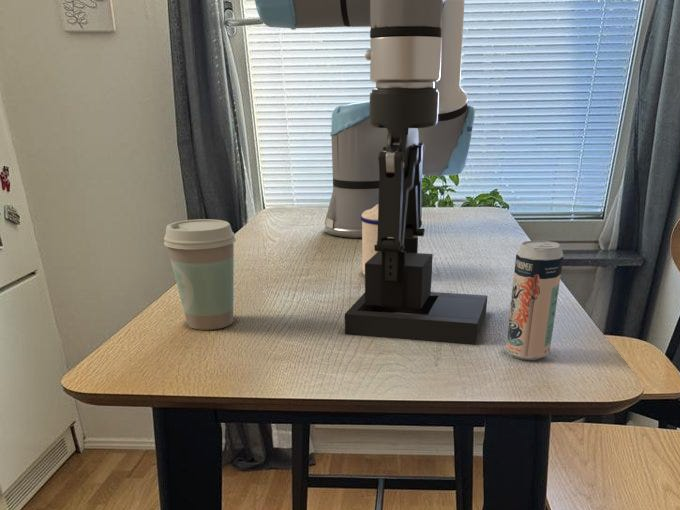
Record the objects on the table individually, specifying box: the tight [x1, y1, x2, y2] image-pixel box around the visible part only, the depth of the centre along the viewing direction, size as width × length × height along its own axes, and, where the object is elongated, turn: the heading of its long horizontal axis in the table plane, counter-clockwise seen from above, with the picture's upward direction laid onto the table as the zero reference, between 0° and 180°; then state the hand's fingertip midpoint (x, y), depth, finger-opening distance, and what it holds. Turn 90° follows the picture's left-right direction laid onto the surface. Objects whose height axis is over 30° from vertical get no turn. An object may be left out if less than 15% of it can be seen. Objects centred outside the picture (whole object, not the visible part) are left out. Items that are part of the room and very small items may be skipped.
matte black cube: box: [364, 251, 434, 309], centre depth 83 cm, size 7×7×5 cm
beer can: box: [505, 239, 564, 361], centre depth 72 cm, size 5×5×12 cm
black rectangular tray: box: [344, 291, 488, 345], centre depth 85 cm, size 12×16×2 cm
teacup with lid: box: [361, 204, 419, 276], centre depth 105 cm, size 12×9×12 cm
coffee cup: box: [163, 218, 237, 331], centre depth 83 cm, size 8×9×12 cm
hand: (399, 297), depth 84 cm, fingers closed on matte black cube, 7 cm apart
